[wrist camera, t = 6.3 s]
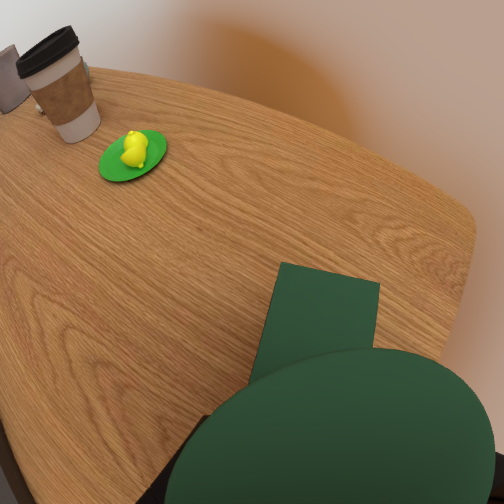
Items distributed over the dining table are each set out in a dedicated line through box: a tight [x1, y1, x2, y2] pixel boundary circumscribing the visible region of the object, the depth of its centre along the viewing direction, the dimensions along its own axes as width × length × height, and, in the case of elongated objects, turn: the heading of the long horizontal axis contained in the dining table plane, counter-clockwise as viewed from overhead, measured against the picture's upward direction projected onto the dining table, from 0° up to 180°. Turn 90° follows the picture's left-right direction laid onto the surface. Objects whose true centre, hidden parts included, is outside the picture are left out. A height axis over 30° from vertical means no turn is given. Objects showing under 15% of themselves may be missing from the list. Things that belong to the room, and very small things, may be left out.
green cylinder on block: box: [165, 262, 495, 504], centre depth 9 cm, size 11×5×12 cm, turn 165°
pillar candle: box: [0, 44, 31, 114], centre depth 38 cm, size 10×10×15 cm
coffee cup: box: [16, 26, 101, 143], centre depth 27 cm, size 8×8×15 cm
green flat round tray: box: [99, 130, 167, 181], centre depth 28 cm, size 8×8×3 cm
